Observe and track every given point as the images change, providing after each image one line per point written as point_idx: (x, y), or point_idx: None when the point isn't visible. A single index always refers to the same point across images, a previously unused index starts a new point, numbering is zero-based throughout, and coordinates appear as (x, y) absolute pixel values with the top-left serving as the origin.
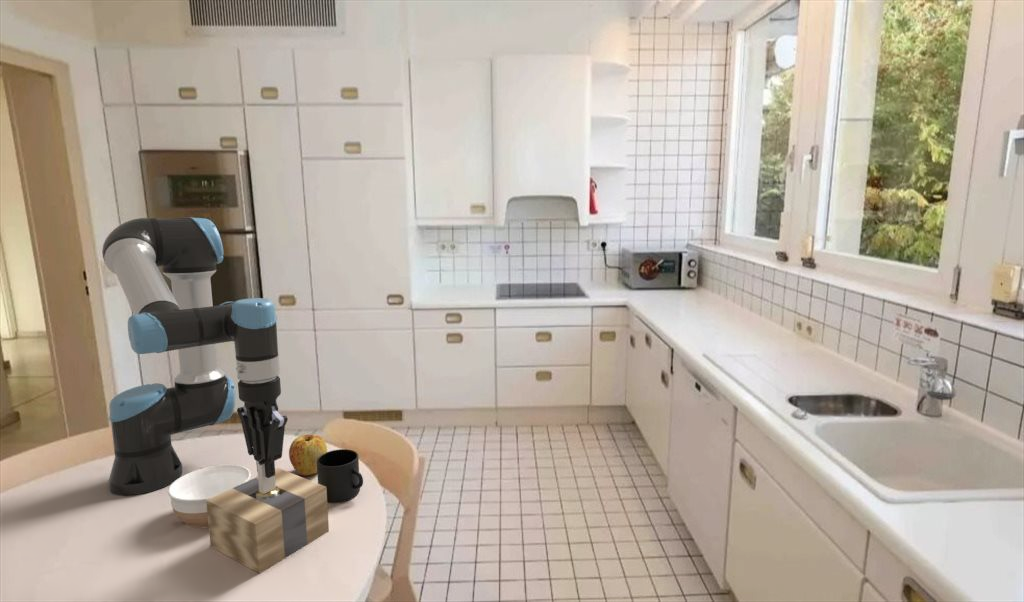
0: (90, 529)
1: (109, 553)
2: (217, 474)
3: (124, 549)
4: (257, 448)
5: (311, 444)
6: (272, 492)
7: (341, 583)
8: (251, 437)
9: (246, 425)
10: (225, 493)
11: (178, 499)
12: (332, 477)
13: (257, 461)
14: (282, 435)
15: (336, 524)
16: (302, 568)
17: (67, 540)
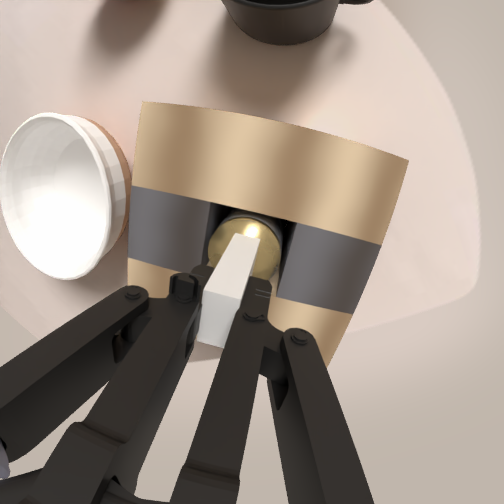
0: (19, 274)
1: (76, 309)
2: (23, 145)
3: (80, 299)
4: (178, 380)
5: None
6: (266, 258)
7: (457, 280)
8: (97, 378)
9: (49, 430)
10: (137, 283)
11: (61, 279)
12: (305, 19)
13: (197, 338)
14: (353, 465)
15: (369, 120)
16: (385, 269)
17: (25, 297)
